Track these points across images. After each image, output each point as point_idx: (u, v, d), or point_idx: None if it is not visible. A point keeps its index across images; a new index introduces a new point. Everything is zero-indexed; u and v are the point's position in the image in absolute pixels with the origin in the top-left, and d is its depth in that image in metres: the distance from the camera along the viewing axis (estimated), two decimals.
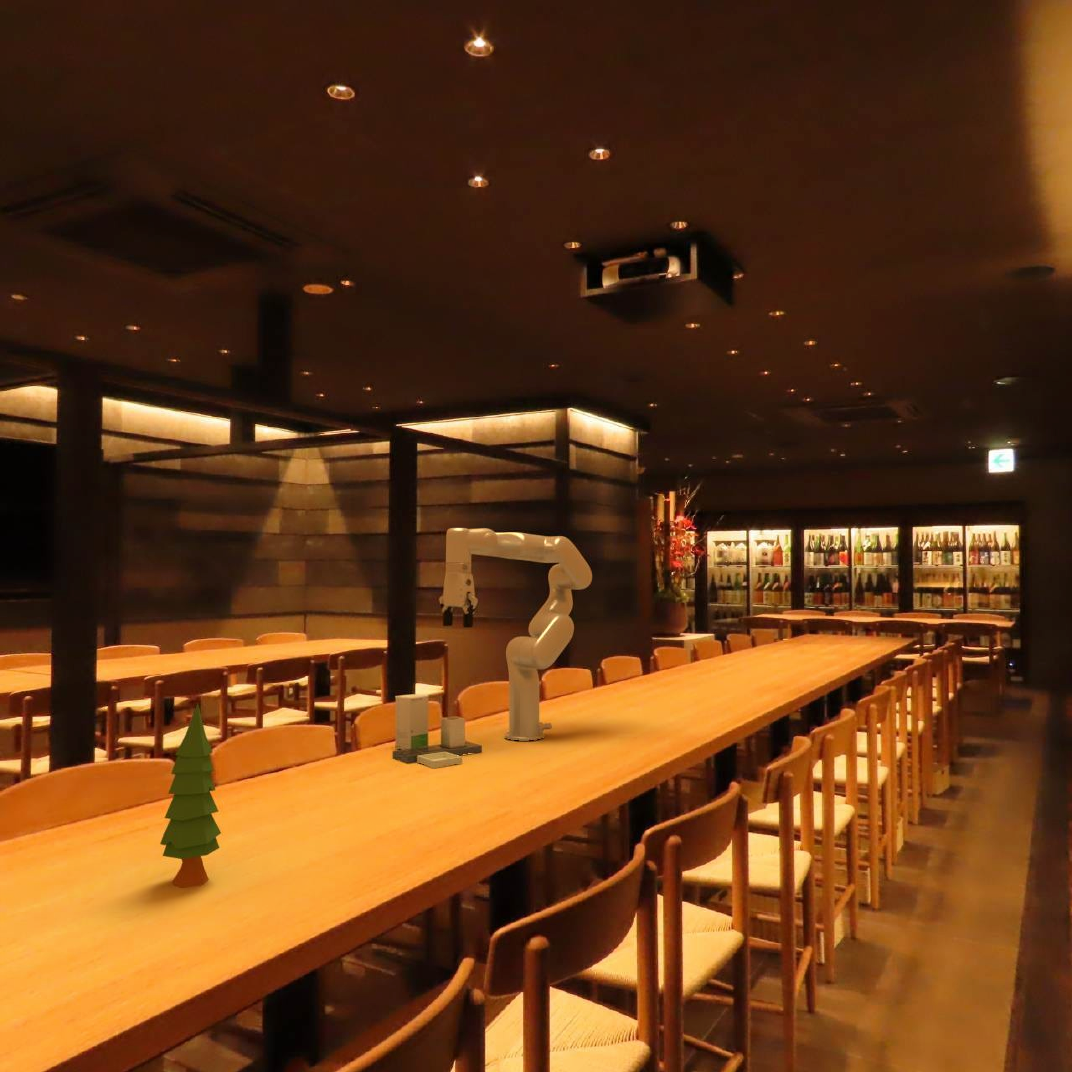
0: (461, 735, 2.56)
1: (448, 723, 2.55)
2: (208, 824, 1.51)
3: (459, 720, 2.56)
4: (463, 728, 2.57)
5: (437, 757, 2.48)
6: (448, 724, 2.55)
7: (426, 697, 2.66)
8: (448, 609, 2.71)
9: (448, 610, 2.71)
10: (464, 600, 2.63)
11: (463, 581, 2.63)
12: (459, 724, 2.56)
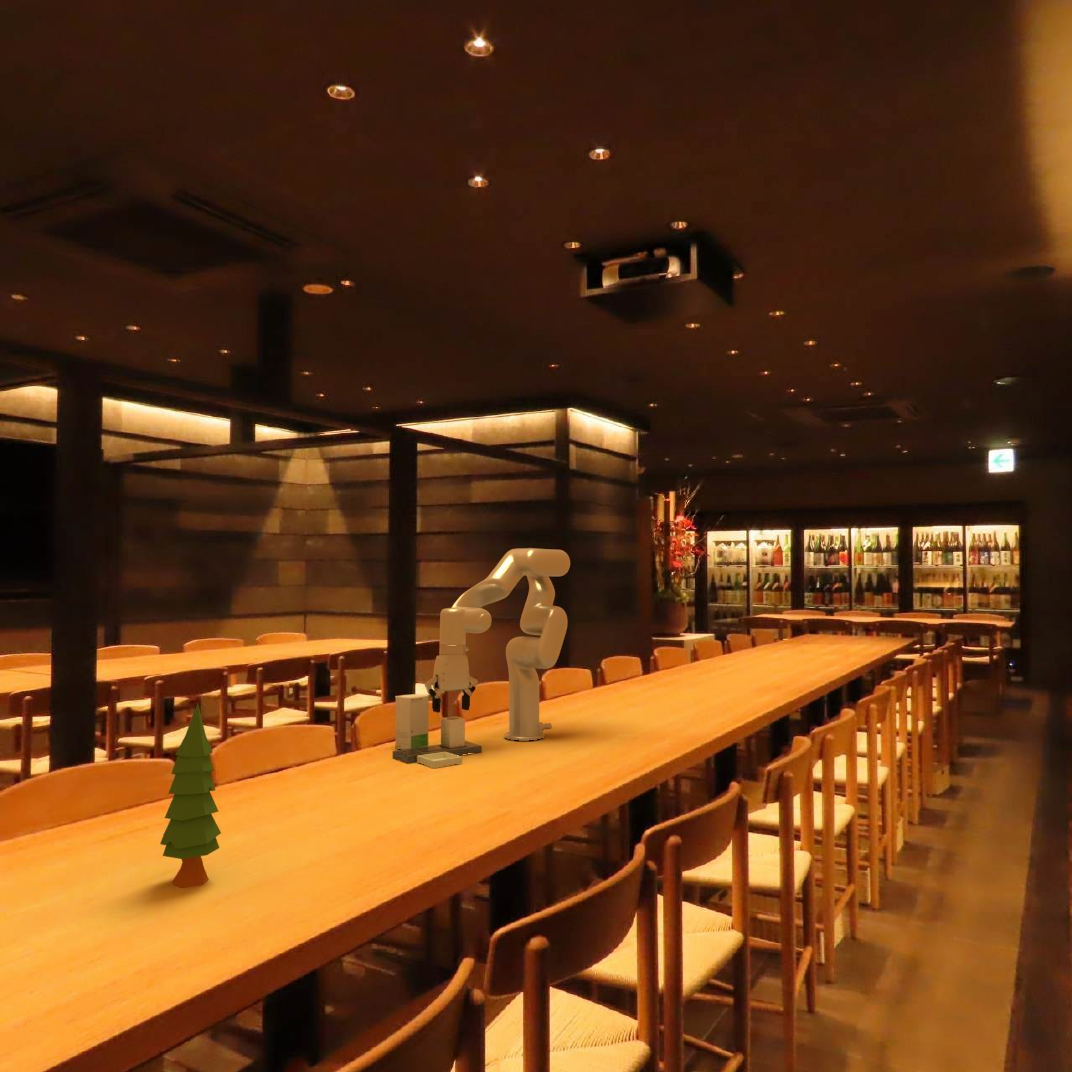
0: (461, 735, 2.56)
1: (448, 723, 2.55)
2: (208, 824, 1.51)
3: (459, 720, 2.56)
4: (463, 728, 2.57)
5: (437, 757, 2.48)
6: (448, 724, 2.55)
7: (426, 697, 2.66)
8: None
9: None
10: None
11: None
12: (459, 724, 2.56)
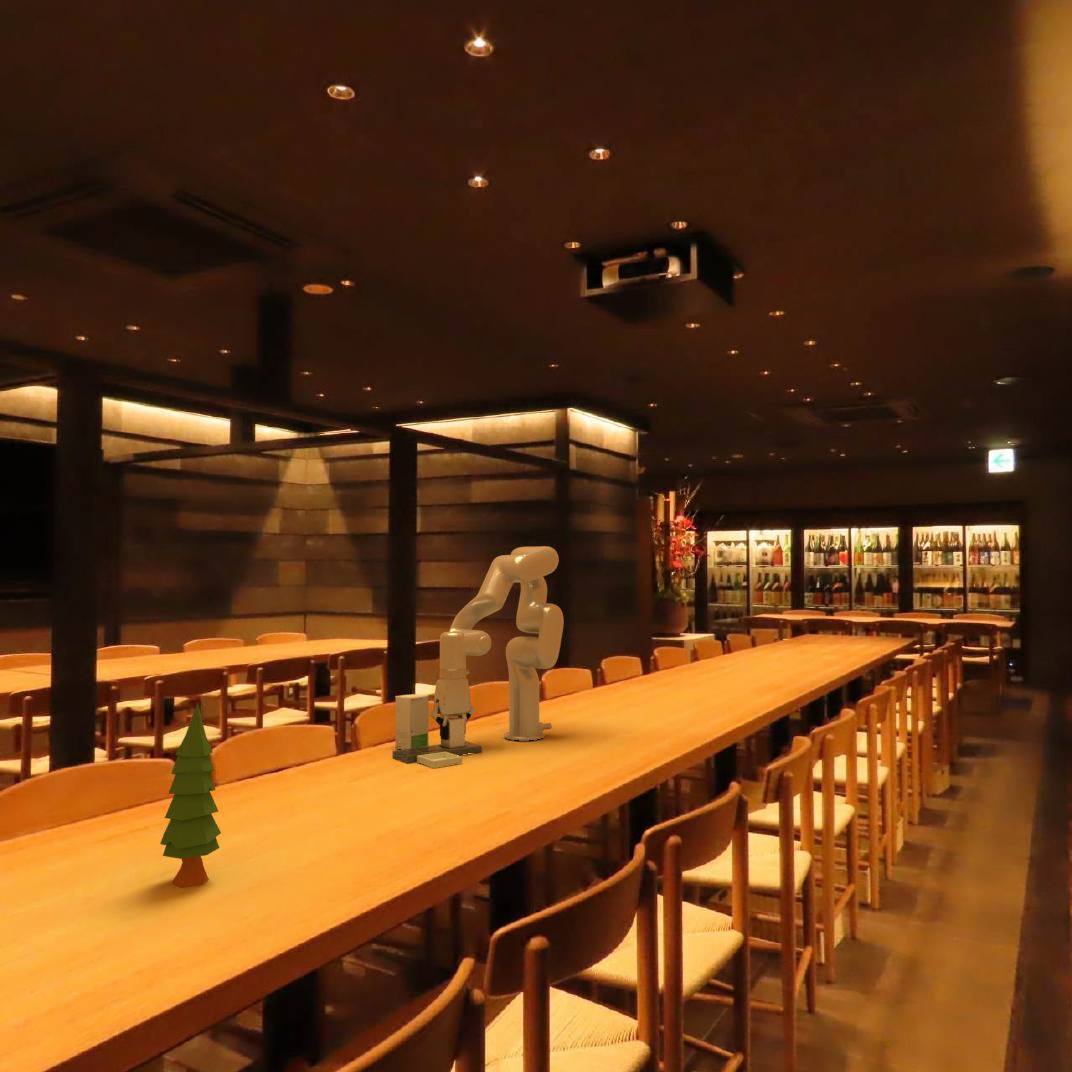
0: (461, 735, 2.56)
1: (448, 723, 2.55)
2: (208, 824, 1.51)
3: (459, 720, 2.56)
4: (463, 728, 2.57)
5: (437, 757, 2.48)
6: (448, 724, 2.55)
7: (426, 697, 2.66)
8: None
9: None
10: None
11: (468, 686, 2.60)
12: (459, 724, 2.56)
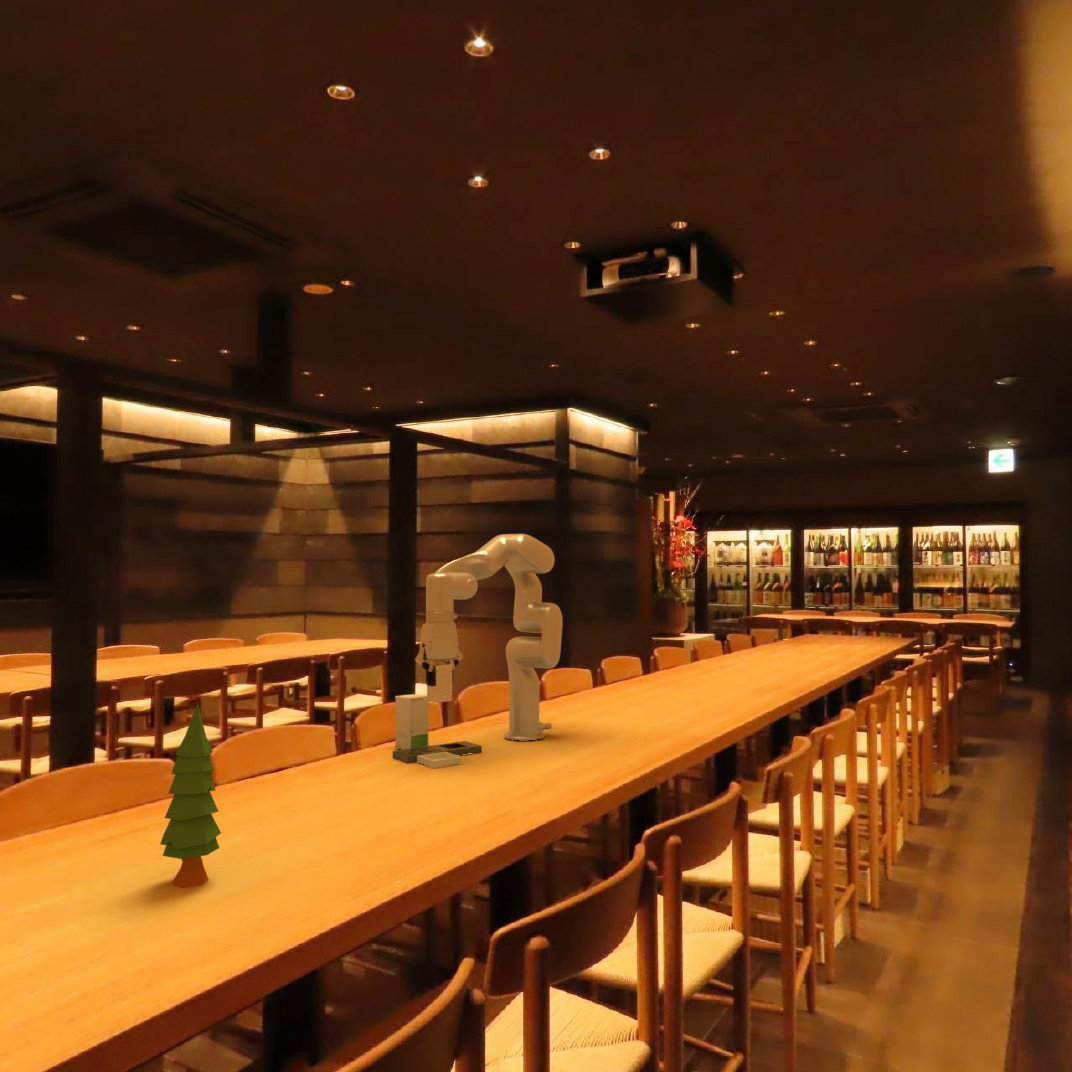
0: (448, 681, 2.44)
1: (434, 668, 2.42)
2: (208, 824, 1.51)
3: (446, 666, 2.44)
4: (450, 674, 2.44)
5: (437, 757, 2.48)
6: (434, 670, 2.42)
7: (426, 697, 2.66)
8: None
9: None
10: None
11: (456, 631, 2.47)
12: (446, 669, 2.43)
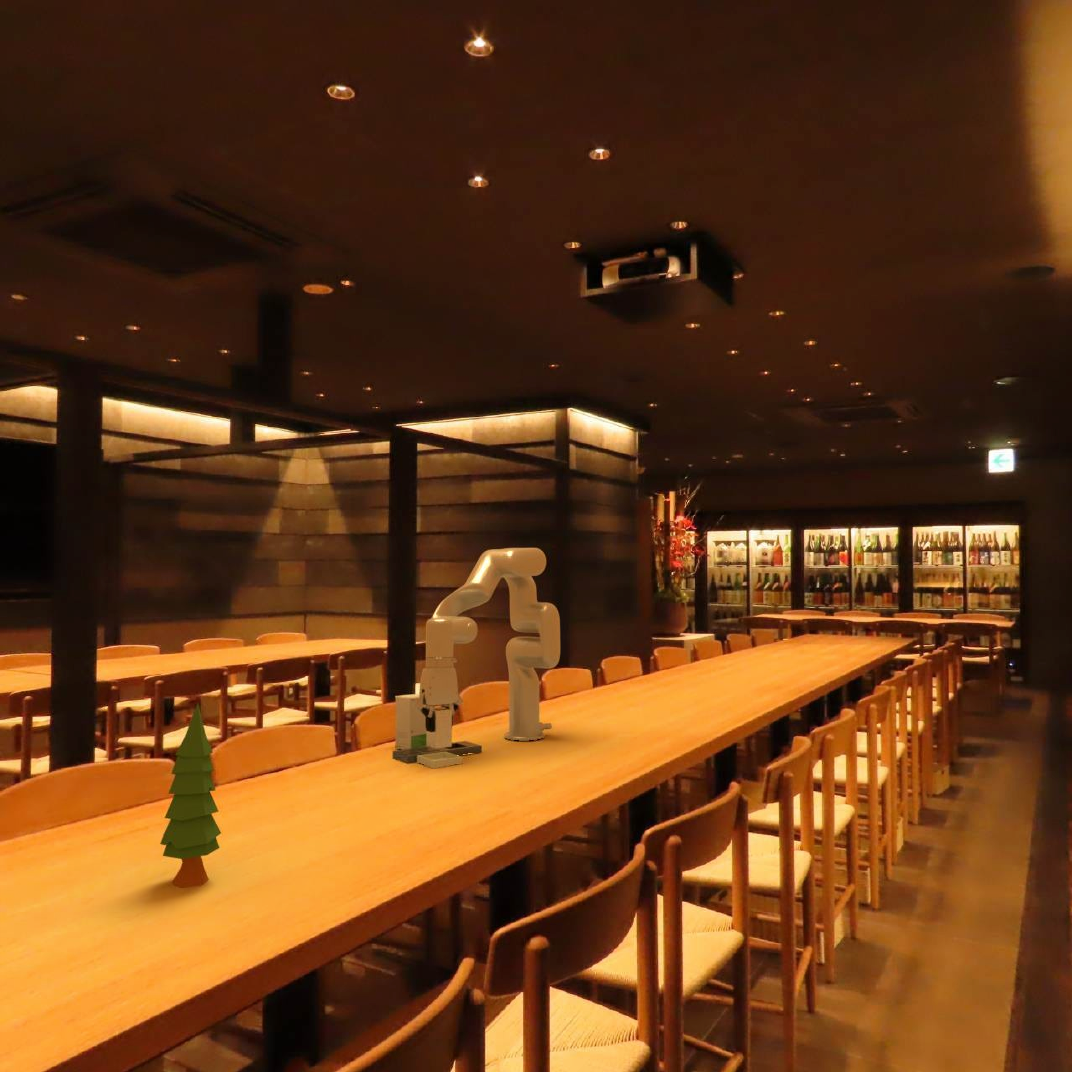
0: (448, 726, 2.43)
1: (434, 714, 2.42)
2: (208, 824, 1.51)
3: (446, 711, 2.43)
4: (450, 719, 2.44)
5: (437, 757, 2.48)
6: (434, 715, 2.41)
7: None
8: None
9: None
10: None
11: (456, 676, 2.46)
12: (446, 715, 2.43)
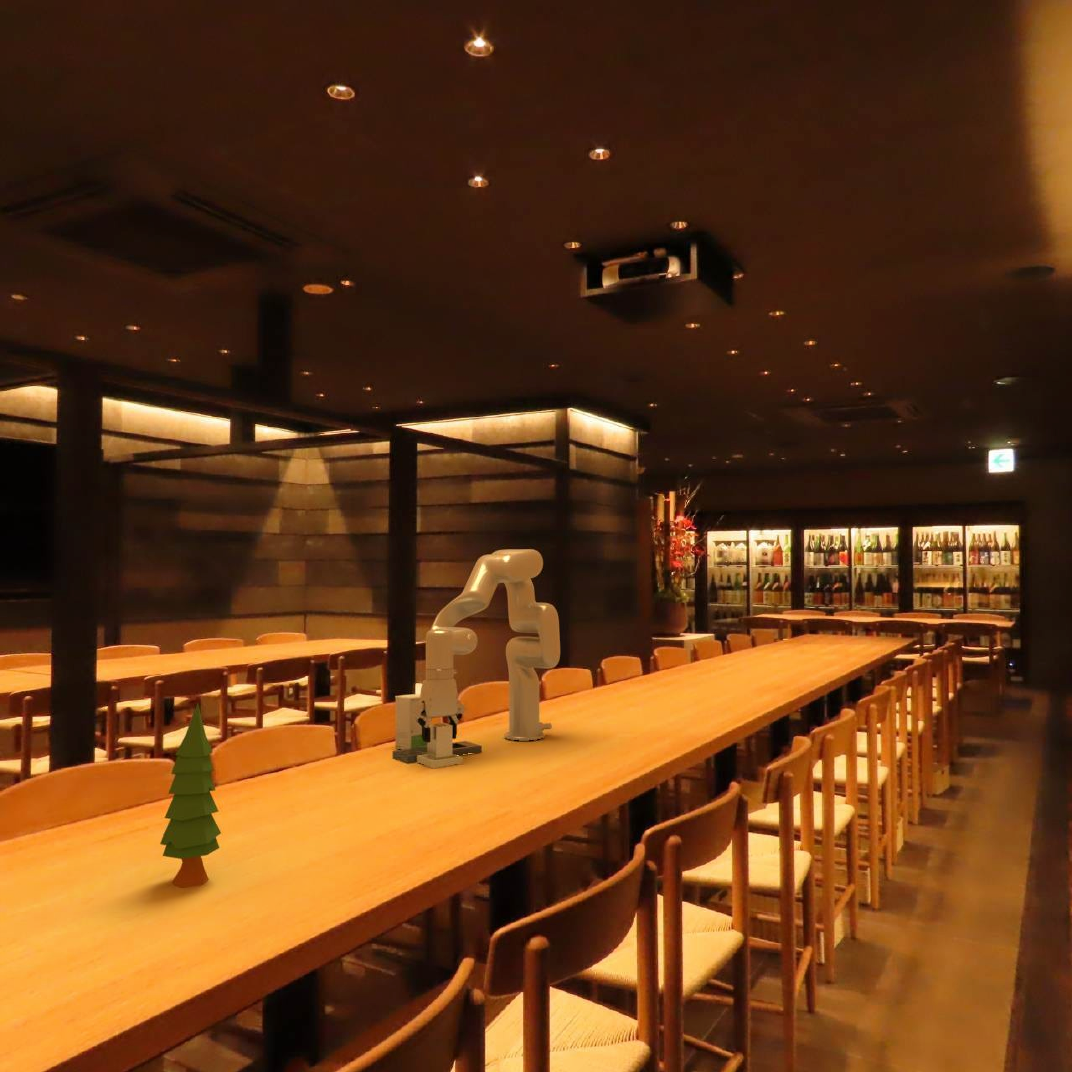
0: (448, 742, 2.43)
1: (434, 730, 2.42)
2: (208, 824, 1.51)
3: (446, 727, 2.43)
4: (450, 735, 2.43)
5: None
6: (435, 731, 2.41)
7: None
8: None
9: None
10: None
11: (456, 687, 2.46)
12: (446, 731, 2.43)
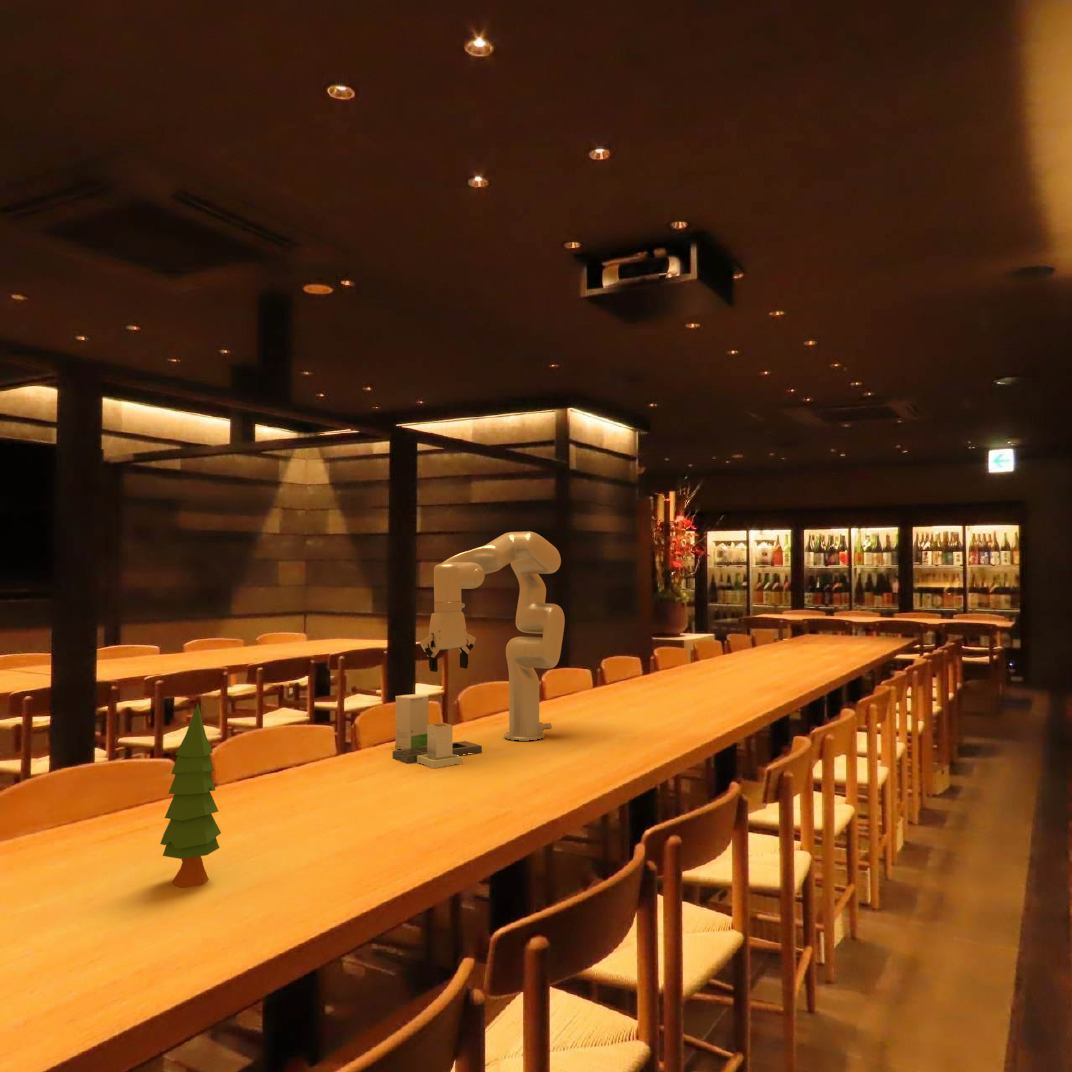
0: (448, 742, 2.43)
1: (434, 730, 2.42)
2: (208, 824, 1.51)
3: (446, 727, 2.43)
4: (450, 735, 2.43)
5: None
6: (435, 731, 2.41)
7: (426, 697, 2.66)
8: None
9: None
10: (466, 640, 2.50)
11: (464, 620, 2.50)
12: (446, 731, 2.43)
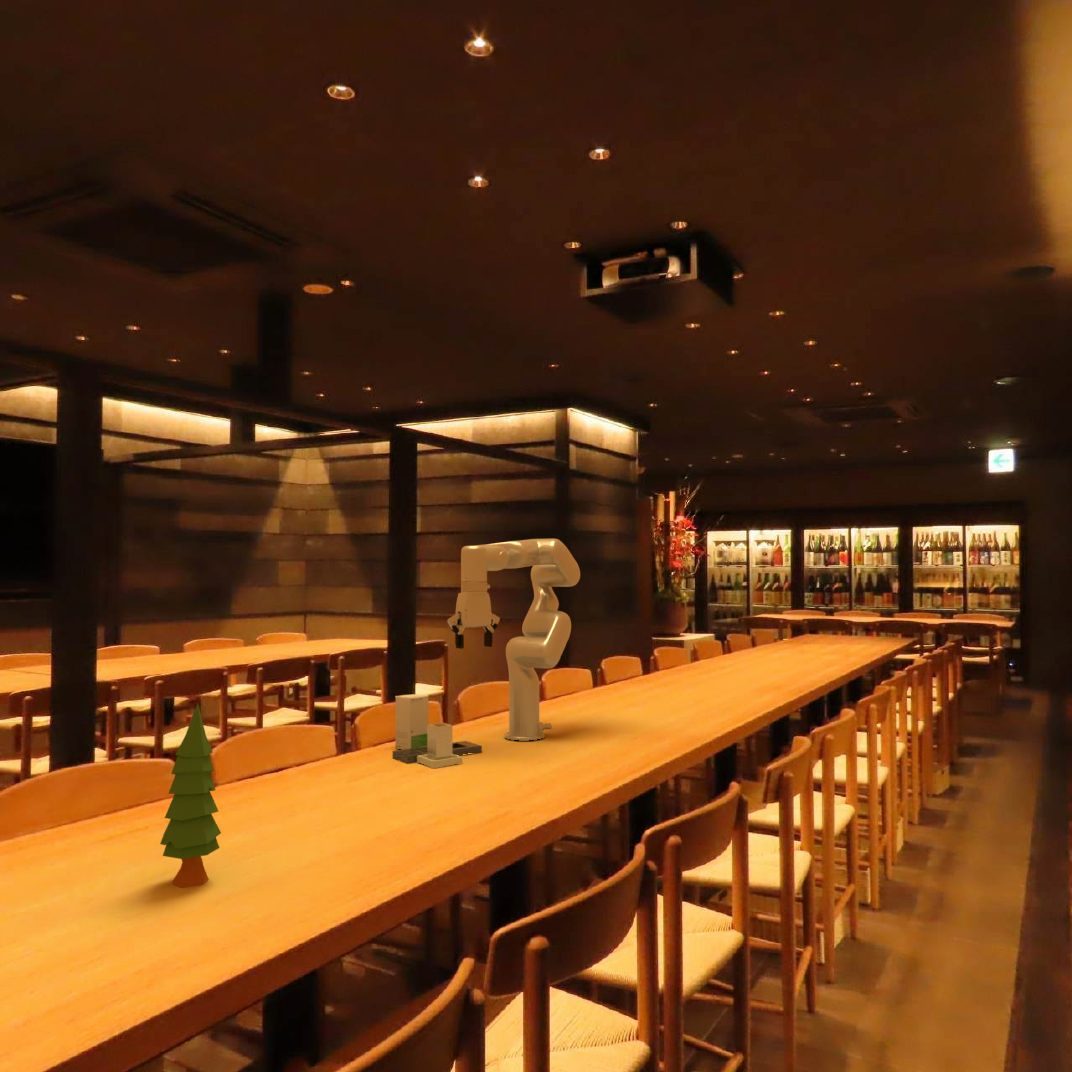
0: (448, 742, 2.43)
1: (434, 730, 2.42)
2: (208, 824, 1.51)
3: (446, 727, 2.43)
4: (450, 735, 2.43)
5: None
6: (435, 731, 2.41)
7: (426, 697, 2.66)
8: None
9: None
10: None
11: (489, 600, 2.61)
12: (446, 731, 2.43)
